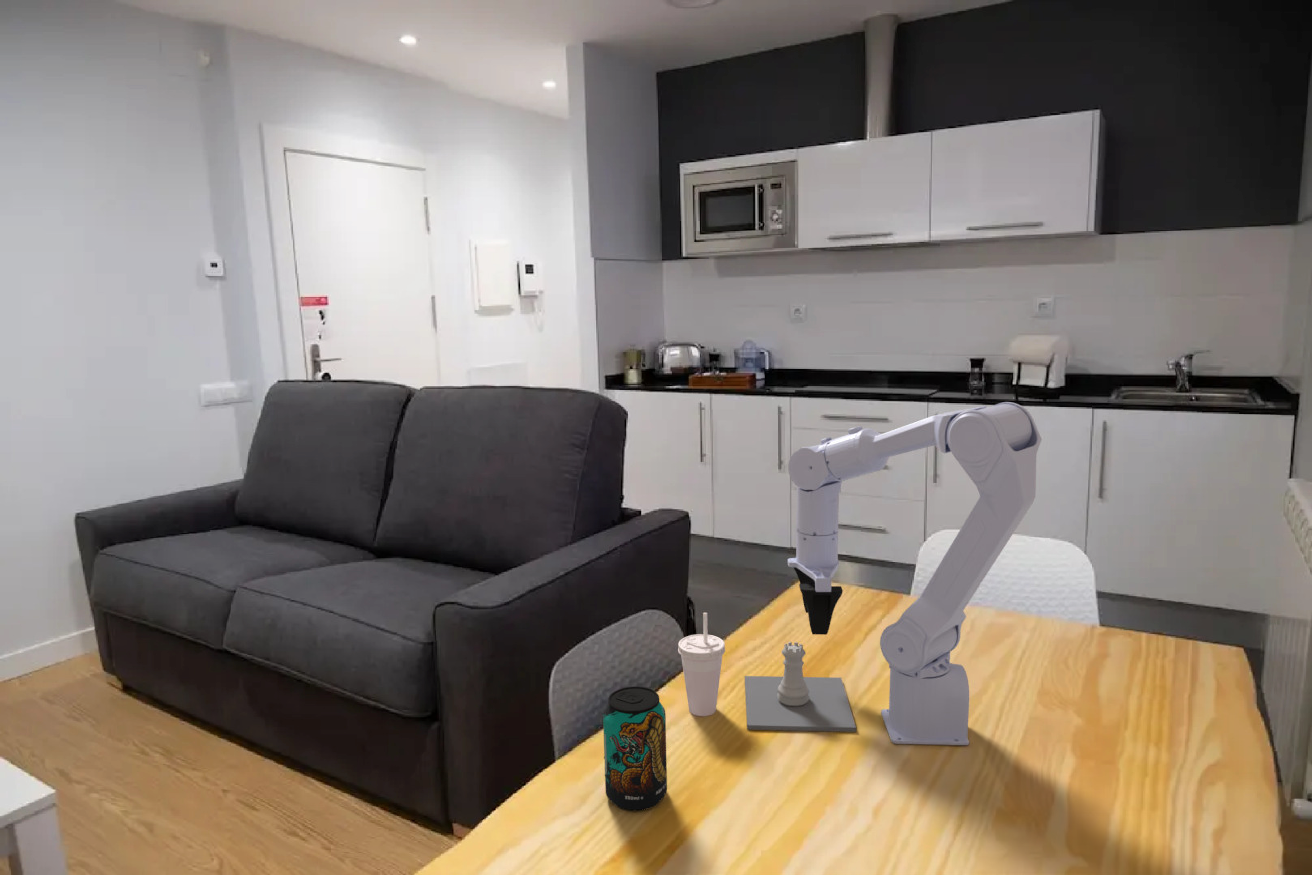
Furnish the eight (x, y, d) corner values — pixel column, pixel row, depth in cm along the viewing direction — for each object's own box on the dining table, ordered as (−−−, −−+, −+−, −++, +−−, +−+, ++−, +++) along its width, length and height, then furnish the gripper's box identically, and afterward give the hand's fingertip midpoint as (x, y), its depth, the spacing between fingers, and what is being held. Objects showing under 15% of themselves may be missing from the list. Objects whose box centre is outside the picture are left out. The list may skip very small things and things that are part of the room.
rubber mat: (841, 681, 121) (841, 677, 121) (855, 731, 107) (855, 727, 107) (744, 679, 122) (744, 675, 122) (747, 729, 108) (747, 725, 108)
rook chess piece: (773, 693, 116) (773, 640, 115) (804, 691, 117) (804, 637, 116) (781, 709, 112) (781, 653, 111) (813, 706, 113) (814, 651, 111)
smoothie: (722, 723, 110) (721, 623, 108) (675, 719, 111) (673, 620, 109) (728, 699, 116) (727, 605, 114) (683, 696, 117) (681, 602, 115)
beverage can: (645, 822, 90) (643, 720, 88) (593, 802, 94) (589, 703, 91) (678, 788, 96) (676, 692, 94) (628, 771, 99) (625, 678, 97)
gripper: (783, 516, 122) (783, 603, 125) (793, 546, 108) (792, 643, 111) (831, 515, 122) (830, 603, 124) (848, 546, 108) (845, 644, 110)
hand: (815, 622), depth 117 cm, fingers open, 7 cm apart
